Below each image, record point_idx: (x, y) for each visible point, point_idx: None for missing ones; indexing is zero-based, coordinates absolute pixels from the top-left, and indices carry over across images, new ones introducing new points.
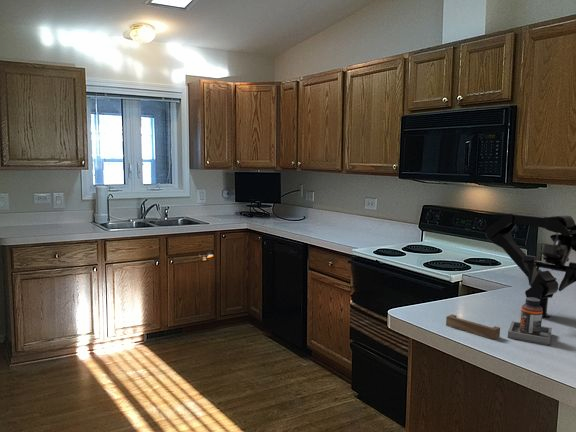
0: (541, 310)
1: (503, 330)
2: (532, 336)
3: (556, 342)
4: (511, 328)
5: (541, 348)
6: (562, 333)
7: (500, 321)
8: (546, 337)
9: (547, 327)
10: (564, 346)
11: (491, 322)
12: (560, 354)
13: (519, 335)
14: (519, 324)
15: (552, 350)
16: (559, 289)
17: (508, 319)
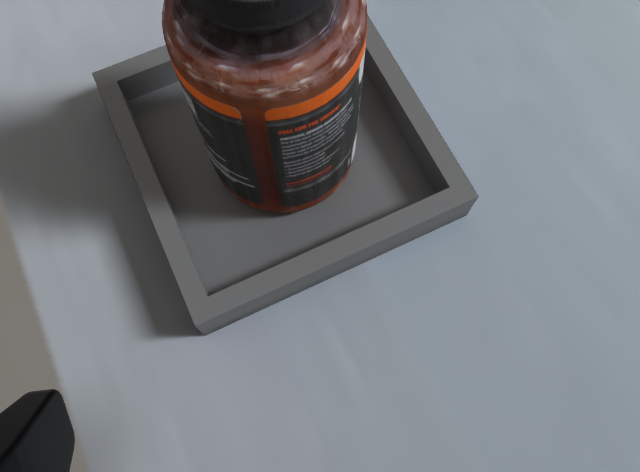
0: (162, 15)
1: (445, 103)
2: None
3: (104, 193)
4: (368, 42)
5: (123, 19)
6: (156, 443)
7: (601, 265)
8: (175, 188)
9: (224, 303)
10: (38, 167)
11: (610, 181)
12: (9, 23)
13: None
14: (413, 206)
15: (65, 42)
16: (34, 391)
17: (614, 379)
